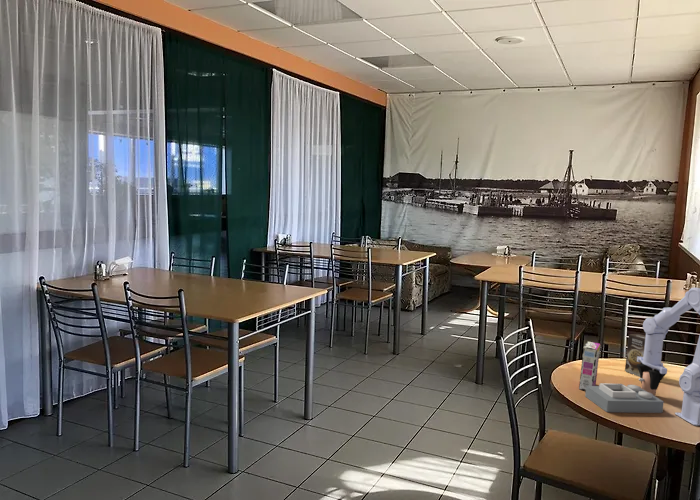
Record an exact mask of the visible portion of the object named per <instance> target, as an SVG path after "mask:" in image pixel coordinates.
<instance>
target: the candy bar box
mask: <svg viewBox="0 0 700 500" xmlns="http://www.w3.org/2000/svg"><path fill="white" fill-rule="evenodd" d="M600 348H601V343H598V342H593V341H592V342H591V341H587V342H586V343H585V344H584V346H583V348H582V350H583V351H582V357H581V358H582V360H581V369H580V375H579V384H578V390H580V391H581V390H582V391H585V392H586V386H596V384H597V379H598V378H597V376H598V368H599V359H600V352H601V349H600Z"/></svg>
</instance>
